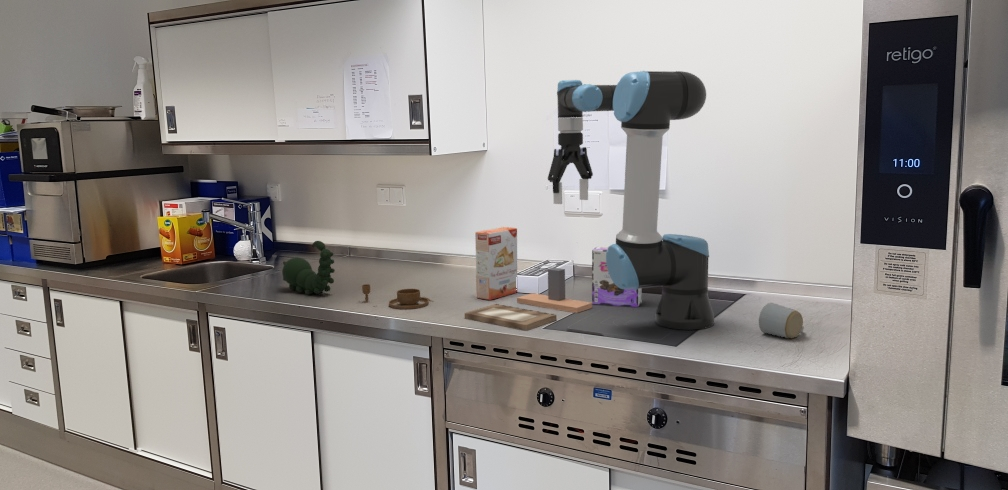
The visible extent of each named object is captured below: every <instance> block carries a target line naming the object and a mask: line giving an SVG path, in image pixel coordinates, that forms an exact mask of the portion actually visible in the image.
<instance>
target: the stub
mask: <svg viewBox="0 0 1008 490" xmlns="http://www.w3.org/2000/svg"><path fill="white" fill-rule="evenodd" d="M547 294H548V295H546V294H540V293H533V292H532V293H528V294H524V295H522V296H518V297H516V303H518V304H521V305H522V304H523V305H528V306H534V307H539V308H540V307H541V308H544V309H545V308H547V309H552V310H559V311H563V312H568V313H573V314H579V313H581V312H584V311H587V310H590V309H592V308H593V304H592V302H590V301H583V300H578V299H570V298H566V269H565V268H558V267H552V268H551V267H550V268H548V269H547Z"/></svg>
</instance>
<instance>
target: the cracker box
mask: <svg viewBox="0 0 1008 490" xmlns="http://www.w3.org/2000/svg"><path fill="white" fill-rule="evenodd" d="M475 277H476V279H475V280H476V281H475V282H476V288H475V289H476V298H477V299H481V300H487V301H491V300H496V299H500V298H503V297H505V296H509V295H513V294H517V293H518V287H517V288H516V277H517V278H518V228H516V227H509V226H505V227H504V226H501V227H496V228H491V229H486V230H485V229H484V230H480V231H475ZM516 289H517V290H516ZM516 292H517V293H516Z"/></svg>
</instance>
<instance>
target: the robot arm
mask: <svg viewBox="0 0 1008 490" xmlns="http://www.w3.org/2000/svg"><path fill="white" fill-rule="evenodd" d="M556 94H557V95H556V96H557V130H558V132H559V133H558V134H557V141H558V142H557V144H558V145H559V146H560V148H554V149H553V158H552V161H551V165H550V168H549V172H548V175H547V181H549V183H552V193H553V194H552V195H553V204H554V205H562V204H563V182H561V181H562V178H563V176H564V173H565V171H566V169H567V167H568V166H569V165H570V164H573V165H574V167H575V168H576V171H577V172H578V174H579V176H580V178H579V201H582V200H583V201H589V180H591V179H592V177H593V176H594V173H593V169H592V166H591V164H590V163H591V162H590V160H589V156H588V150H587V147H586V146H584V147H583V146H582V145H583V144H584V140H583V139H584V133H583V132H582V131H584V123H583V121H584V118H583V117H584V116H583V113H587V112H588V113H589V112H609V111H610V112H613V115H614V117H615V119H616V120H617V121H619V122H620V123H621V124H620V128H621V129H622V131H624V132H625V134H626V149H625V166H624V170H625V171H624V188H623V189H624V190H623V195H624V196H623V208H622V211H623V212H622V213H623V214H622V226H621V227H622V229H621V230H620V231H619V232H617V233H616V236H615V243H612V244H610V245H609V246H608V250H607V252H606V264H607V269H608V272H609V275H610V277H611V279H612V281H613V282H614V284H615V285H616V286H617V287H619V288H621V289H634V290H636V289H640V288H642V289H648V288H649V289H650V288H656V287H657V288H658V287H662V288H661V289H662V291H661V297H660V299H659V303H658V304H657V308H656V311H655V319H654V321H655V323H656V324H657V325H659V326H660V327H663V328H667V329H675V330H686V331H687V330H693V331H694V330H701V329H707V328H711V327H713V326H714V325H715V314H714V310H713V307H712V303H711V300H710V298H709V291H708V290H709V258H710V252H709V244H708V242H707V240H705V238H701V237H699V236H693V235H692V236H691V235H686V234H676V233H675V234H674V233H673V234H672V233H667V234H663V235H661V234H660V233H659V232H658V220H659V219H658V217H659V200H660V188H661V187H660V186H661V167H662V152H663V138H664V134H666V133H667V132H668V131H669V130H670V127H671V126H670V125H671V124H670V123H671V121H677V120H685V119H688V118H691V117H693V116H695V115H697V114H698V113H699V112H700V111H701V110H702V108H703V107H704V105H705V103H706V99H707V89H706V86H705V83H704V82H703V81H702V80H701V78H700V77H698V76H697V75H695V74H693V73H691V72H688V71H680V70H678V71H677V70H676V71H668V70H667V71H665V70H663V71H661V70H660V71H659V70H658V71H654V70H653V71H651V70H650V71H648V70H647V71H646V70H642V71H641V70H640V71H632V72H626V73H625V74H624V75H623V76H622V77H621V78H620V79H619V81H618V82H617V84H592V83H591V84H590V83H589V84H583V82H582V80H581V79H565V80H559V82H558V83H557V91H556Z"/></svg>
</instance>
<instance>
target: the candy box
mask: <svg viewBox="0 0 1008 490" xmlns="http://www.w3.org/2000/svg"><path fill="white" fill-rule="evenodd" d="M608 247H609V246H608ZM608 247H603V246H596V247H594V248H592V251H591V256H592V257H591V261H592V262H591V266H592V268H591V270H592V271H591V281H592V282H591V299H592V300H591V301H592V302H591V303H592V305H603V306H604V305H605V306H614V307H615V306H616V307H617V306H618V307H633V308H638V307H639V306H641V304H642V303H643V301H642V289H643V288H640V289H636V290H634V289H621V288H619V287H617V286H616V285H615V284H614V282H613V281H612V279H611V277H610V275H609V272H608V269H607V264H606V252H607V250H608Z"/></svg>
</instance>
